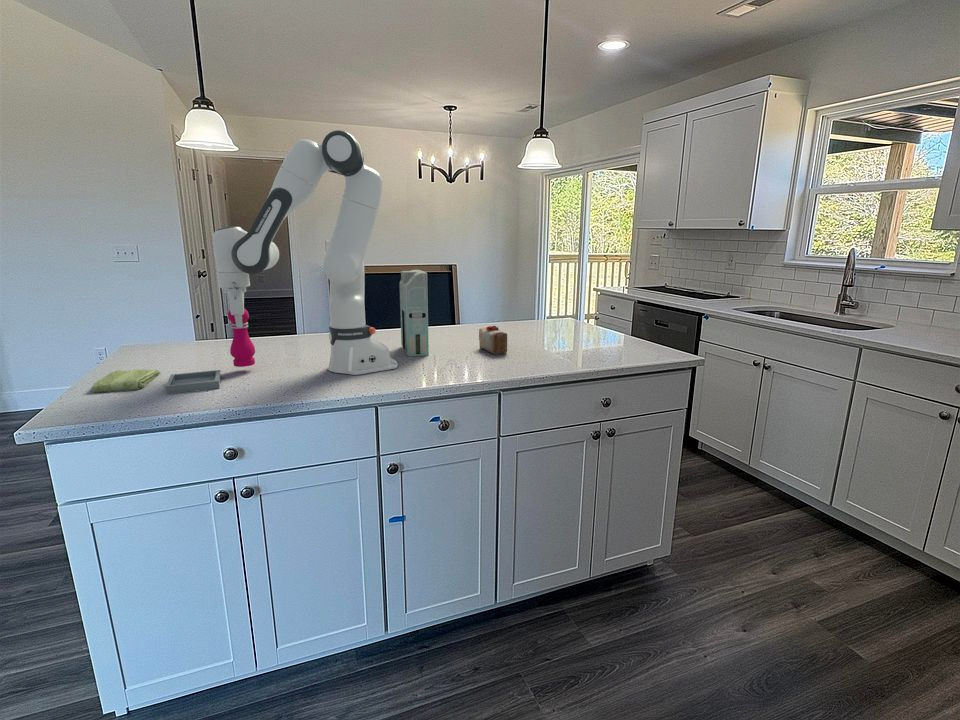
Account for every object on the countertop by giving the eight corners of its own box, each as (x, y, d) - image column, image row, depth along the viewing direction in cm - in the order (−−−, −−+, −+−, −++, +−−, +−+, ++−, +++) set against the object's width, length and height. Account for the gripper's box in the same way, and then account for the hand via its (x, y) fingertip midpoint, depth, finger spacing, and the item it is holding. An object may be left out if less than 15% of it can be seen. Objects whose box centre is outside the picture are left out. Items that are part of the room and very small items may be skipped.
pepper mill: (247, 367, 155) (239, 304, 150) (226, 366, 156) (218, 303, 151) (261, 362, 161) (254, 301, 156) (241, 361, 163) (234, 300, 158)
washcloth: (162, 374, 156) (161, 365, 155) (142, 391, 140) (140, 380, 139) (114, 377, 153) (112, 367, 152) (87, 395, 136) (85, 384, 135)
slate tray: (220, 376, 153) (220, 369, 152) (219, 388, 142) (218, 380, 141) (172, 381, 148) (171, 374, 147) (166, 394, 136) (165, 386, 136)
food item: (475, 348, 194) (476, 323, 192) (493, 346, 198) (494, 322, 195) (491, 355, 182) (492, 329, 180) (510, 353, 186) (511, 327, 183)
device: (401, 347, 195) (399, 269, 187) (420, 346, 197) (419, 269, 189) (407, 356, 179) (405, 273, 172) (428, 355, 182) (427, 273, 174)
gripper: (245, 283, 144) (251, 330, 148) (244, 278, 162) (250, 319, 166) (221, 284, 142) (227, 332, 145) (223, 279, 160) (229, 321, 163)
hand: (239, 325), depth 156 cm, fingers closed on pepper mill, 5 cm apart
